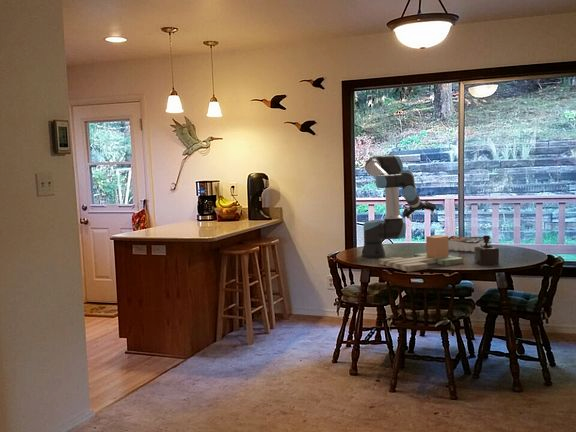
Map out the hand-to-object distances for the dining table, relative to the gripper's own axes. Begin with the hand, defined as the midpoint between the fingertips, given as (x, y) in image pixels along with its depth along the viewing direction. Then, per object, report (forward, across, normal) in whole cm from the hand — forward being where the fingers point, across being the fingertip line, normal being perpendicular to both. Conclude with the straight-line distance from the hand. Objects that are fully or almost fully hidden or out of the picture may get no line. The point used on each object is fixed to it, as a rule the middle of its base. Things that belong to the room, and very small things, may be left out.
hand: (421, 216), depth 343 cm
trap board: (-3, -7, -31) cm, 32 cm away
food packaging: (+47, +18, -10) cm, 52 cm away
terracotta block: (+5, +3, -26) cm, 27 cm away
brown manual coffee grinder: (+4, +30, -39) cm, 49 cm away
